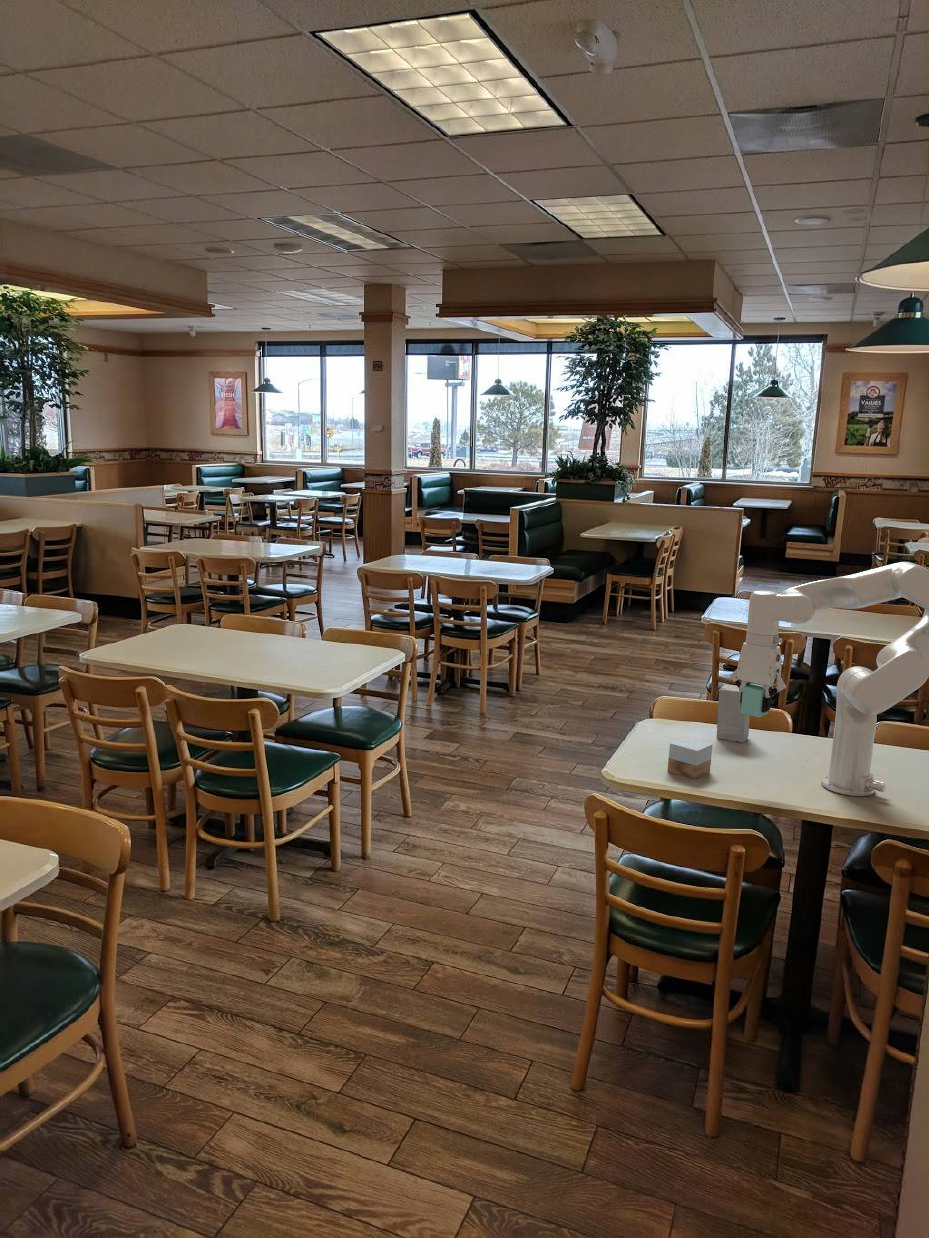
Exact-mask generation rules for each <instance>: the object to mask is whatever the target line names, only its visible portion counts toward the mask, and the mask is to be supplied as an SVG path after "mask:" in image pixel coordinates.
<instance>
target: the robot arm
mask: <svg viewBox="0 0 929 1238" xmlns="http://www.w3.org/2000/svg"><path fill="white" fill-rule="evenodd" d="M900 598H904V599H906V600H907V601H909V602H911V603H914V604H915V605H917V606H918V607H920V608H923V609H924V612H923V615H922V617H921V619H920V620H919V621H918V622H917V623H916V624H915V625H914V626H913V627H911V628H910V629H908V631H906V632H905V633H903V634H901V635H900V636H899V637H897V638H896V639H895V640H893V641H892V642H890V643H888V644H887V645H885V646H884V647H883V648H882V649H880V651H879V652H878V653H877V656H876V660H875V661H876V666H877V668H876V669H874V670H871V669H870V668H867V667H865V666H859V665H858V666H851V667H849V668H847V669H845V670H844V671H843V672H842V673H841V674H840V676H839V678H838V680H837V683H836V707H835V708H836V709H835V711H836V712H835V719H834V729H833V736H832V738H833V739H832V744H831V745H832V746H831V753H830V762H829V767H828V768H829V769H828V775H824V776H823V777H822V778H821V782H820V784H821V785H822V786H823V787H824V788H825V789H826V790H829V791H831V792H834V793H837V794H841V795H844V796H851V797H868V796H871V795H873V794H874V793H875V791H877V792H880V793H884V792H886V784H885V782H883V781H880V780H875V778H874V773H872V772H871V766H872V758H873V753H874V752H873V750H874V742H875V735H876V730H877V729H876V728H877V716H878V714H882V713H883V712H886V711H887V710H889V709H890V708H892V707H894V706H895V705H897V704H898V703H899V702H901V701H902V700H904V699H905V698H907V697H908V696H909V695H911V694H913V693H914V692H915V691H917V690H918V689H919V688H920V687H922V686H923V685H924V684H925V683H926V682H927V681H928V680H929V568H927V567H924V566H923V565H919V564H917V563H913V562H910V561H900V562H895V563H891V564H888V565H884V566H880V567H876V568H872V569H869V570H865V571H860V572H857V573H852V574H850V575H844V576H838V577H832V578H827V579H821V580H817V581H812V582H808V583H804V584H801V585H797V586H793V587H790V588H787V589H785V590H783V591H781V592H780V593H778V592H777V591H773V590H772V591H771V590H753V591H752V592H751V594H750V596H749V602H748V603H749V604H748V616H747V625H746V635H745V642H743V644H742V646H741V650H740V653H739V656H738V657H739V658H738V662H737V668H736V669H735V670H734V671H733V672H731V673H730V679H731V680H732V681H733V682H734V683H735V686H737V687H738V688H739V691H740V692H741V696H740V703H741V704H742V693H743V686H746V685H749V684H757V685H762V686H763V688H764V694H765V697H763V700H762V712H763V713H765V712H767V711H768V712H770V710H771V709H772V699H773V696H775V695H776V694H777V693H779V692H780V691H782V690H784V689H786V688H787V684H785V682H784V680H783V678H782V652H781V647H780V646H778V645H782V644H783V638H780V637H779V628H780V622H784V623H790V624H795V625H802V624H806V623H809V622H810V621H811V620H812V619H813V618H814V616H815V615H816V611H820V610H826V609H836V608H837V609H846V610H847V609H849V610H852V609H863V608H867V607H869V606H870V607H871V606H872V605H876V604H877V605H878V604H880V603H881V604H882V603H884V602H889V601H893V600H897V599H900ZM773 685H777V686H775V687H774V686H773Z"/></svg>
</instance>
